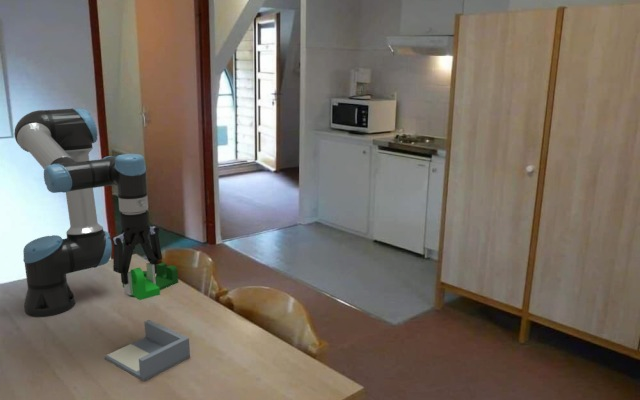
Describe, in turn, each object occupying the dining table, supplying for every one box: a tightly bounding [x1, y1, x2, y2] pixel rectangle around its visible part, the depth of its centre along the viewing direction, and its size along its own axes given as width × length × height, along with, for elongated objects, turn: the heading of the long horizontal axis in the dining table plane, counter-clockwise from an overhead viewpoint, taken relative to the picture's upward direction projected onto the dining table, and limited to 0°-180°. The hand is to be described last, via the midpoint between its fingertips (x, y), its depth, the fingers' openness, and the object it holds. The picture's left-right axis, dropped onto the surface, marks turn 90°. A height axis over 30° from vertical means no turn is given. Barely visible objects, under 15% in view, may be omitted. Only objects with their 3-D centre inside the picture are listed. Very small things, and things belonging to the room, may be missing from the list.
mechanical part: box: [122, 267, 161, 301], centre depth 153 cm, size 12×6×8 cm, turn 40°
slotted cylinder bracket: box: [128, 262, 179, 298], centre depth 197 cm, size 18×9×6 cm, turn 147°
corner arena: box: [103, 319, 191, 382], centre depth 150 cm, size 18×15×6 cm
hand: (140, 289), depth 154 cm, fingers closed on mechanical part, 7 cm apart
